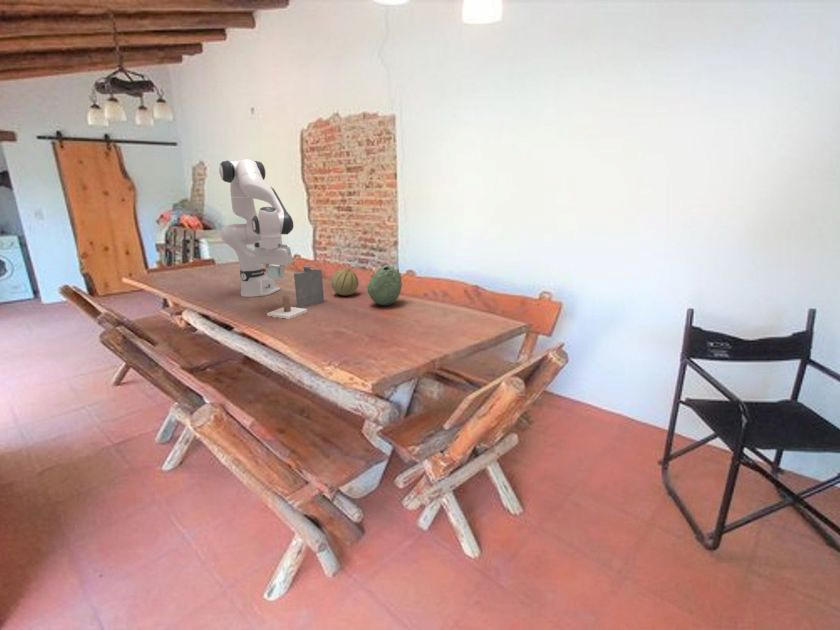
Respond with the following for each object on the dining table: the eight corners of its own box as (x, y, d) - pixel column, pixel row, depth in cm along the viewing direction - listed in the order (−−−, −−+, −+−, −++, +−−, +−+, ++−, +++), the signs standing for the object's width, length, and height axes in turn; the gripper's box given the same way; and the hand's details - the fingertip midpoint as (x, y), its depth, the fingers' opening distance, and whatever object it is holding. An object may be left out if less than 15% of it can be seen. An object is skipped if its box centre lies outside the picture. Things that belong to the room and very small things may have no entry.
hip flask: (299, 308, 218) (295, 269, 212) (294, 307, 220) (291, 268, 214) (325, 301, 229) (322, 264, 223) (320, 300, 232) (317, 263, 226)
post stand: (286, 308, 217) (284, 292, 215) (307, 312, 212) (305, 295, 209) (267, 316, 206) (265, 298, 204) (288, 319, 201) (287, 301, 198)
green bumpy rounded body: (361, 306, 220) (359, 267, 214) (386, 298, 235) (384, 261, 229) (384, 311, 211) (383, 271, 205) (408, 303, 226) (408, 264, 220)
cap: (275, 275, 207) (274, 265, 206) (285, 276, 205) (284, 266, 203) (265, 278, 202) (264, 268, 201) (275, 279, 199) (274, 269, 198)
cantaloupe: (329, 293, 246) (327, 267, 241) (354, 290, 252) (353, 265, 247) (336, 299, 233) (334, 272, 228) (362, 296, 239) (361, 269, 234)
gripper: (294, 244, 197) (297, 274, 201) (260, 242, 206) (264, 270, 210) (284, 245, 192) (287, 276, 196) (250, 243, 200) (254, 273, 204)
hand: (275, 273), depth 203 cm, fingers closed on cap, 6 cm apart
